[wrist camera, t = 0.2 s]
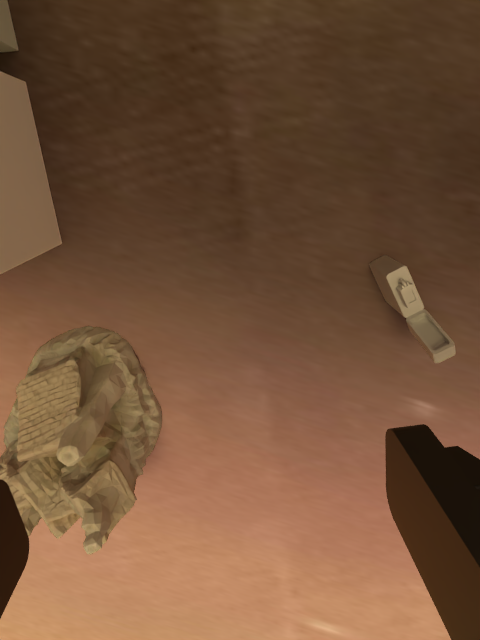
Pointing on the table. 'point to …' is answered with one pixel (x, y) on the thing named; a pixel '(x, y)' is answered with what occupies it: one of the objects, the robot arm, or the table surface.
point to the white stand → (22, 181)
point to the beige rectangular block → (6, 29)
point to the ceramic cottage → (80, 434)
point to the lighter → (411, 307)
